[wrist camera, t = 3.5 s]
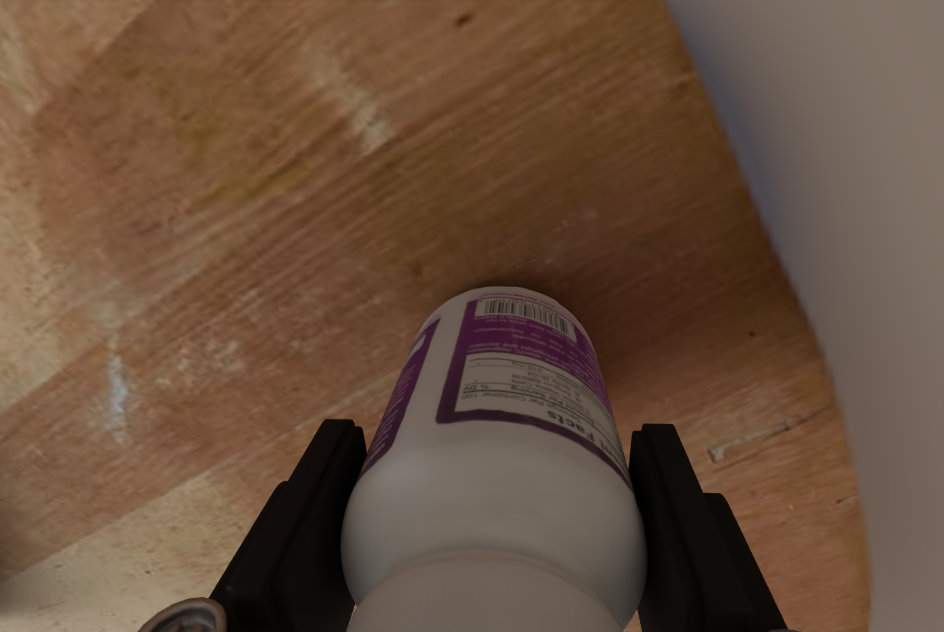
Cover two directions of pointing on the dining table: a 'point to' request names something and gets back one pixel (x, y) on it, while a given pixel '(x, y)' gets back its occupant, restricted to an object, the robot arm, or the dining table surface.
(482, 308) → the pill bottle
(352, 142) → the dining table surface
